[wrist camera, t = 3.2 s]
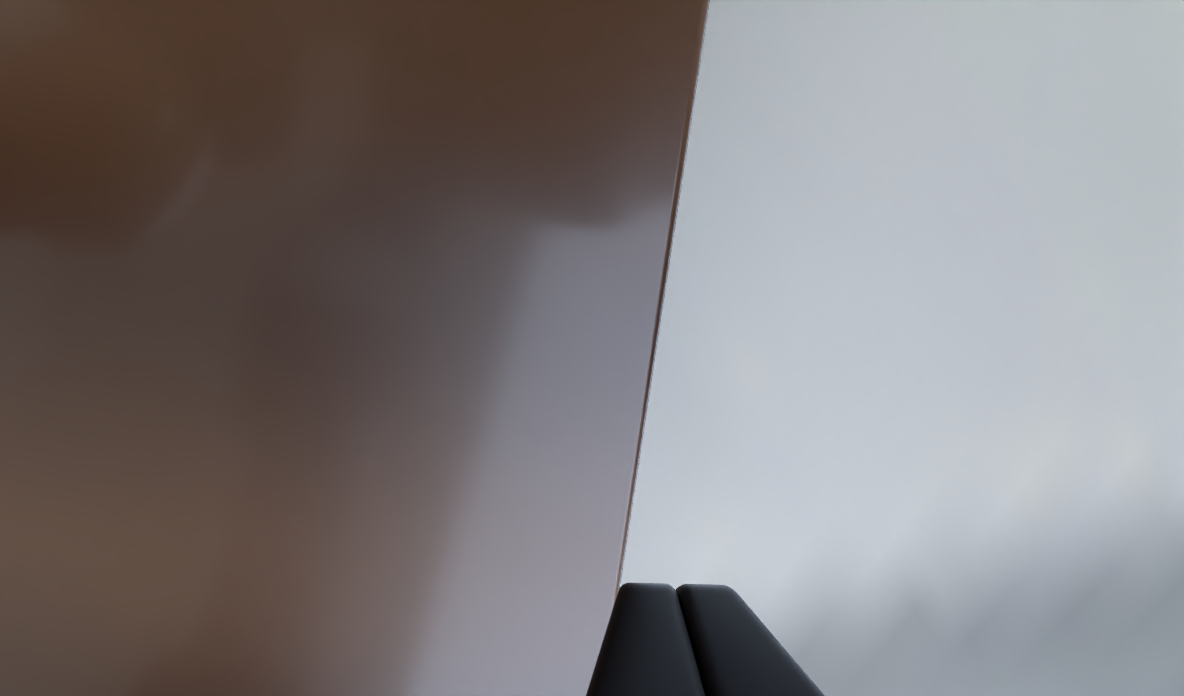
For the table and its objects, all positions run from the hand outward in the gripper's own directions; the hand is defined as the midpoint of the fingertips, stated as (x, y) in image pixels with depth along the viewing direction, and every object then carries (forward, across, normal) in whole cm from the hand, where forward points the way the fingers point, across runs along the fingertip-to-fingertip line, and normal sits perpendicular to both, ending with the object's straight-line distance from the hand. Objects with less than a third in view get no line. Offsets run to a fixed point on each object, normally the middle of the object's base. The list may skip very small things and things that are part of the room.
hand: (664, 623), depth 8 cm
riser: (+6, +5, 0) cm, 8 cm away
